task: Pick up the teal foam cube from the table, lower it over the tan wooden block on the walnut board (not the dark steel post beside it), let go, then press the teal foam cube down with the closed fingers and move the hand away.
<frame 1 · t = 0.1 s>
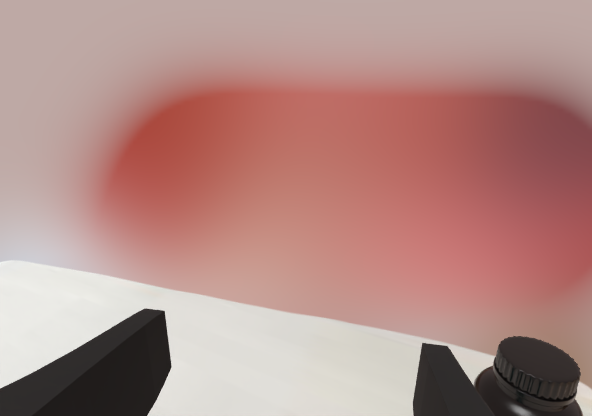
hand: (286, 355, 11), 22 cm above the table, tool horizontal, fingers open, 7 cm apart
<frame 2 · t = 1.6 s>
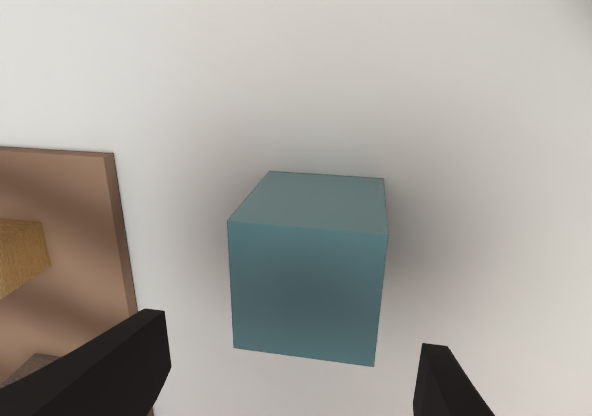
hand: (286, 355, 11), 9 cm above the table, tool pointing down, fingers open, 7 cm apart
steel post: (58, 372, 25), resting on base board
tan wooden block: (25, 241, 22), resting on base board
base board: (53, 303, 24), on the table
teal foam cube: (322, 226, 19), on the table
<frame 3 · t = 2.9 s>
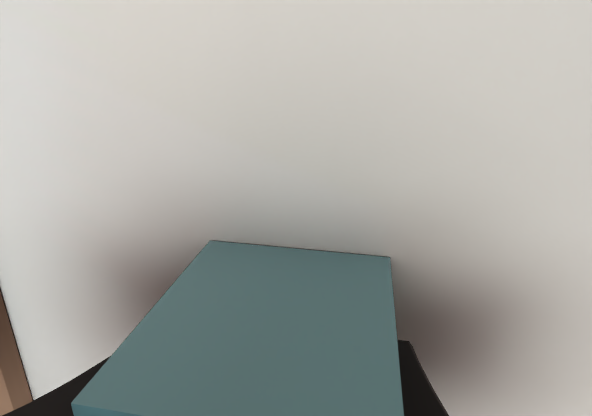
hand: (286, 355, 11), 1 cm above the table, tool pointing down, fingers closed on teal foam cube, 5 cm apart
teal foam cube: (295, 323, 12), on the table, touching gripper
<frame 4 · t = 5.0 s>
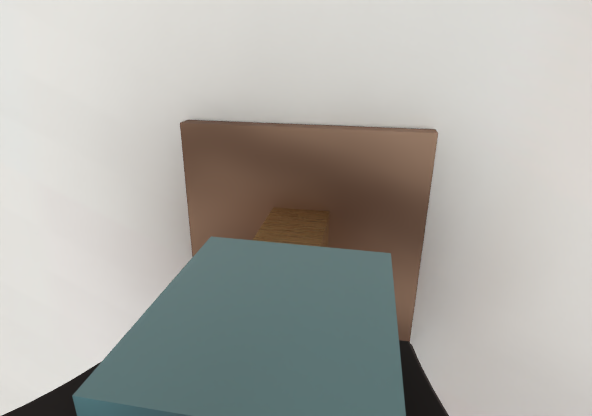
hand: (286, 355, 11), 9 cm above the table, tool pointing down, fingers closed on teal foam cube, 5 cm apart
tan wooden block: (300, 235, 19), resting on base board
base board: (302, 306, 21), on the table
teal foam cube: (296, 320, 12), point 7 cm above the table, touching gripper
when the fingers open (3 cm above the table, at t = 7.0 s): teal foam cube stays where it is, resting on base board.
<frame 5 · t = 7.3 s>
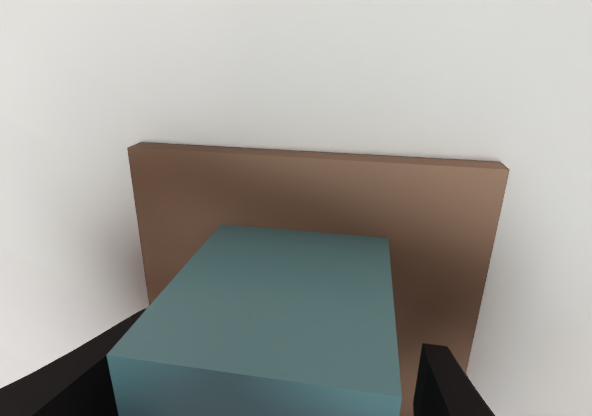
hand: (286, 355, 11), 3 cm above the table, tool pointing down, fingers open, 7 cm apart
base board: (302, 390, 16), on the table
teal foam cube: (300, 302, 13), point 1 cm above the table, touching base board
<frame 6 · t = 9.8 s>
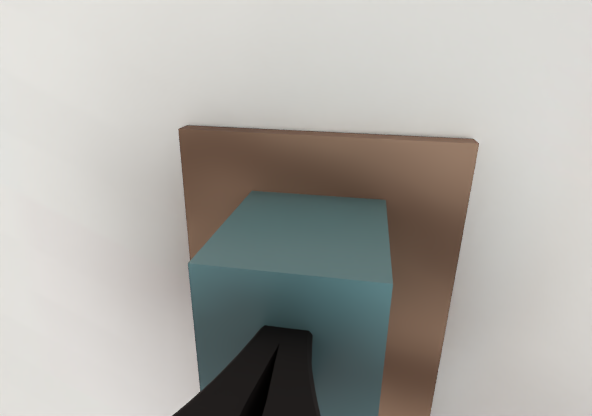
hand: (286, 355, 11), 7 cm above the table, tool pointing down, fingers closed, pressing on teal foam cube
base board: (314, 334, 19), on the table
teal foam cube: (315, 255, 17), point 1 cm above the table, touching base board, gripper
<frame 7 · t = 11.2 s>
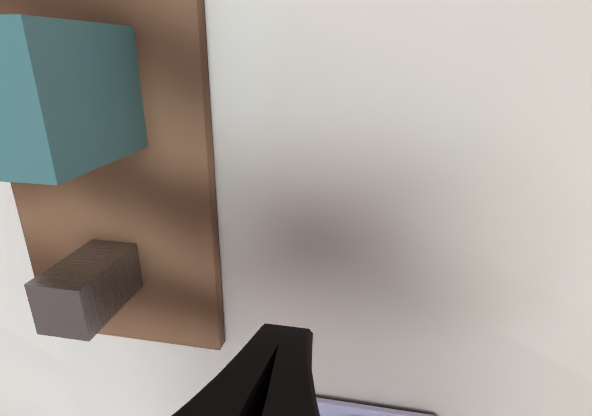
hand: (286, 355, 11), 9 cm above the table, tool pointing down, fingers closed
steel post: (118, 262, 22), resting on base board
base board: (114, 178, 21), on the table
teal foam cube: (88, 88, 19), point 1 cm above the table, touching base board
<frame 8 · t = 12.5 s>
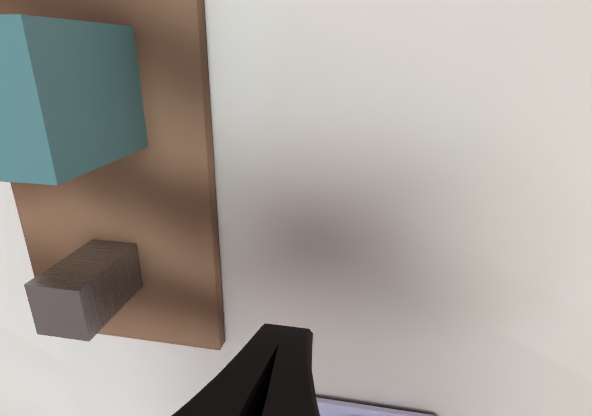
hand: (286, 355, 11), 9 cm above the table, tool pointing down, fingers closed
steel post: (118, 262, 22), resting on base board
base board: (114, 178, 21), on the table
teal foam cube: (88, 88, 19), point 1 cm above the table, touching base board
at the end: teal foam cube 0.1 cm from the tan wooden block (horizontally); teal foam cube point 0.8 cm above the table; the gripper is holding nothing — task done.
